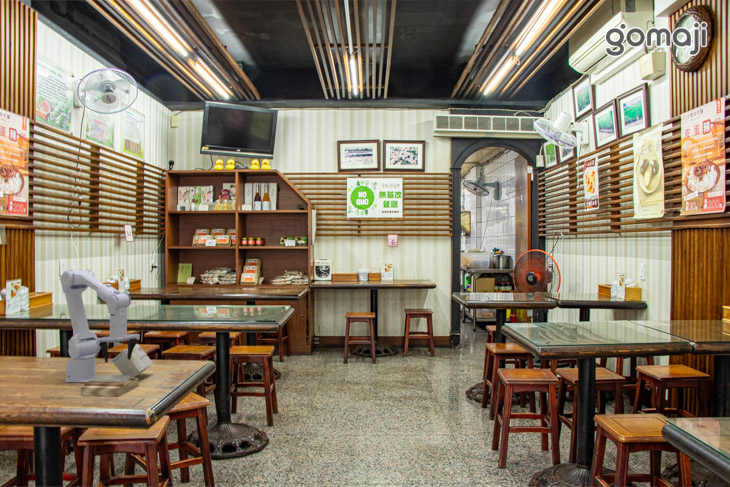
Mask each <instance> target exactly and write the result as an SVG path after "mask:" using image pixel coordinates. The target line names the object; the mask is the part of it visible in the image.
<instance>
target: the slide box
mask: <svg viewBox="0 0 730 487" xmlns="http://www.w3.org/2000/svg"><path fill="white" fill-rule="evenodd" d="M83 383H84V385H83V386H80V397H81V396H83V397H110V398H111V397H112V398H113V397H114V398H115V397H116V398H118V397H121V396H122V395H125V394H126V393H128V392H130V391H131V390H134V389H136V388H137V387H139V378H138V377H137V376H136V377H130V381H129V382H127V383H125V384H124V383H90V381H89V382H83Z"/></svg>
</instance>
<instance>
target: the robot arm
mask: <svg viewBox="0 0 730 487" xmlns="http://www.w3.org/2000/svg"><path fill="white" fill-rule="evenodd" d="M59 280H60V284H61V288H62V293H63V294H64V295H65V296H64V297H65V299H66V304H67V310H68V312H69V318H70V322H71V327H72V330H73V335H72V336H71V337H70V339H69V340H68V355H69V357H70V358H68V360H67V362H66V364H65V369H66V370H65V379H64V383H87V382H89V383H90V379H91V378H93V377H96V376H98V375H99V374H96V357H97V356H98V353H99V352H100V351H102V354H103V358H104V363H108V362H109V358H108V354H109V352H108V350H109V345H108V344H109V343H116V342H126V341H127V349H128V355H127V358H128V359H131V355H132V351H133V349H134V347H135V345H136V344H138V341H137V340H140V336H141V335H140V333H133V334H128V333H127V332H128V328H127V327H128V308H129V307H130V305H131V303H132V301H131V300H132V299H131V296H130V294H128V293H127V292H120V290H118V289H116V288H114V287H113V286H112V284H110V283H104V284H103V282H102V281H101V280H99V279H98V278H97V277H96V276H95V273H94V272H93V271H92V270H90V269H83V270H82V269H80V270H79V269H78V270H65V271H64V272H62V274H61V277H60V279H59ZM88 288H90V289H92V290H93V291H95V292H96V296H97V297H98V298H100V299H101V300H102V301H104V302H105V304H106V307H107V309H108V311H107V312H108V314H109V336H103V337H97V334H95V333H94V332H92V331H90V327H89V323H88V319H87V315H86V310H85V306H84V301H83V297H82V294H83V293H84V292H85V291H86V290H87V289H88Z"/></svg>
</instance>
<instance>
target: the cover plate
mask: <svg viewBox="0 0 730 487" xmlns="http://www.w3.org/2000/svg"><path fill="white" fill-rule="evenodd" d="M97 375H98V376H96V377H93V378H91V379H90V381H89V383H124V384H125V383H127V382H129V381H130V375H123V374H97Z"/></svg>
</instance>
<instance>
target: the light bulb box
mask: <svg viewBox="0 0 730 487" xmlns="http://www.w3.org/2000/svg"><path fill="white" fill-rule="evenodd" d="M127 355H128V348H126V349H124V350H122V351H121V352H120V353H119V354H117V355H116V356H115V357H114V358H113V359H112V360H111V362H112V364H113V365H114V366H115V367H116V368H117V369H118V371H119V372H120V373H121V375H130V377H136V378H137V377H138V376H139V375H141V374H142V373H143V372H145V371H146V370H147V369H148V368H150V367H151V366H152V365H154V362H153V361H152V360H151V359H150V357H149V356H148V355H147V353H146V352H145V350H143V348H142V347H141V346H140V345H139V344H138V343H136V345H135V347H134V349H133V351H132V355H131V359H128V358H127Z"/></svg>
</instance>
